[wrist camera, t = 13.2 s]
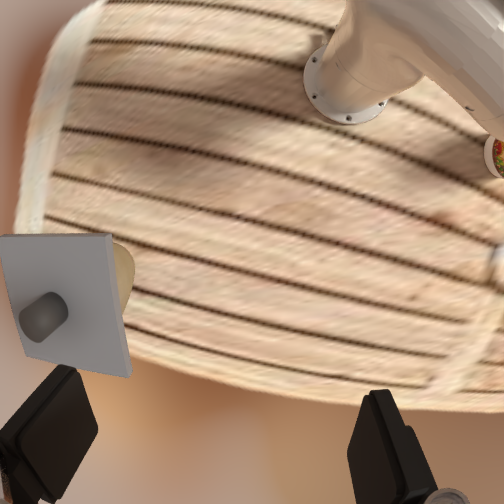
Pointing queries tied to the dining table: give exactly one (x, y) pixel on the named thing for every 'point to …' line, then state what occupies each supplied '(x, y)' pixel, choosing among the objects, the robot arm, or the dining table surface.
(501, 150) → the milk bottle
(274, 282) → the dining table surface
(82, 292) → the lid
